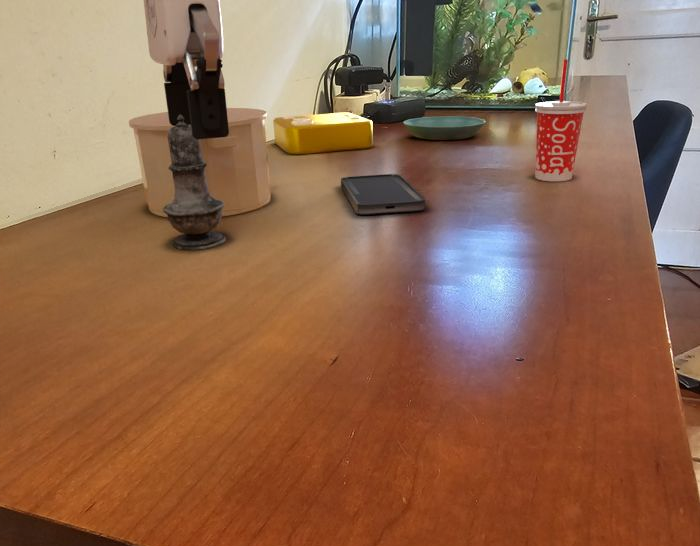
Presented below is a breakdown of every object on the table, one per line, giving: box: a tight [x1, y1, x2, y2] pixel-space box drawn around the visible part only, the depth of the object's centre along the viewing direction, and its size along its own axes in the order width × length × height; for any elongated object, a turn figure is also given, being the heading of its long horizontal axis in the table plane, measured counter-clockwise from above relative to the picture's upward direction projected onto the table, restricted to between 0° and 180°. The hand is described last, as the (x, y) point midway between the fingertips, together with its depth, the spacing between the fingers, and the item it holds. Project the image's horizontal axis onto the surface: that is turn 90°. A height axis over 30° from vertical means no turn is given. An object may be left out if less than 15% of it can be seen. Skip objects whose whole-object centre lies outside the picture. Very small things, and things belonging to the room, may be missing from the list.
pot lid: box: [128, 69, 268, 131], centre depth 73 cm, size 16×16×6 cm
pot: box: [132, 119, 272, 218], centre depth 76 cm, size 15×20×10 cm
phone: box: [340, 173, 426, 216], centre depth 76 cm, size 8×1×15 cm
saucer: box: [403, 115, 486, 141], centre depth 116 cm, size 15×15×3 cm
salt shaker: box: [163, 114, 227, 251], centre depth 61 cm, size 6×6×12 cm
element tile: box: [272, 112, 374, 156], centre depth 112 cm, size 15×15×5 cm
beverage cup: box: [534, 59, 588, 182], centre depth 80 cm, size 6×6×14 cm
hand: (197, 130), depth 61 cm, fingers open, 9 cm apart
